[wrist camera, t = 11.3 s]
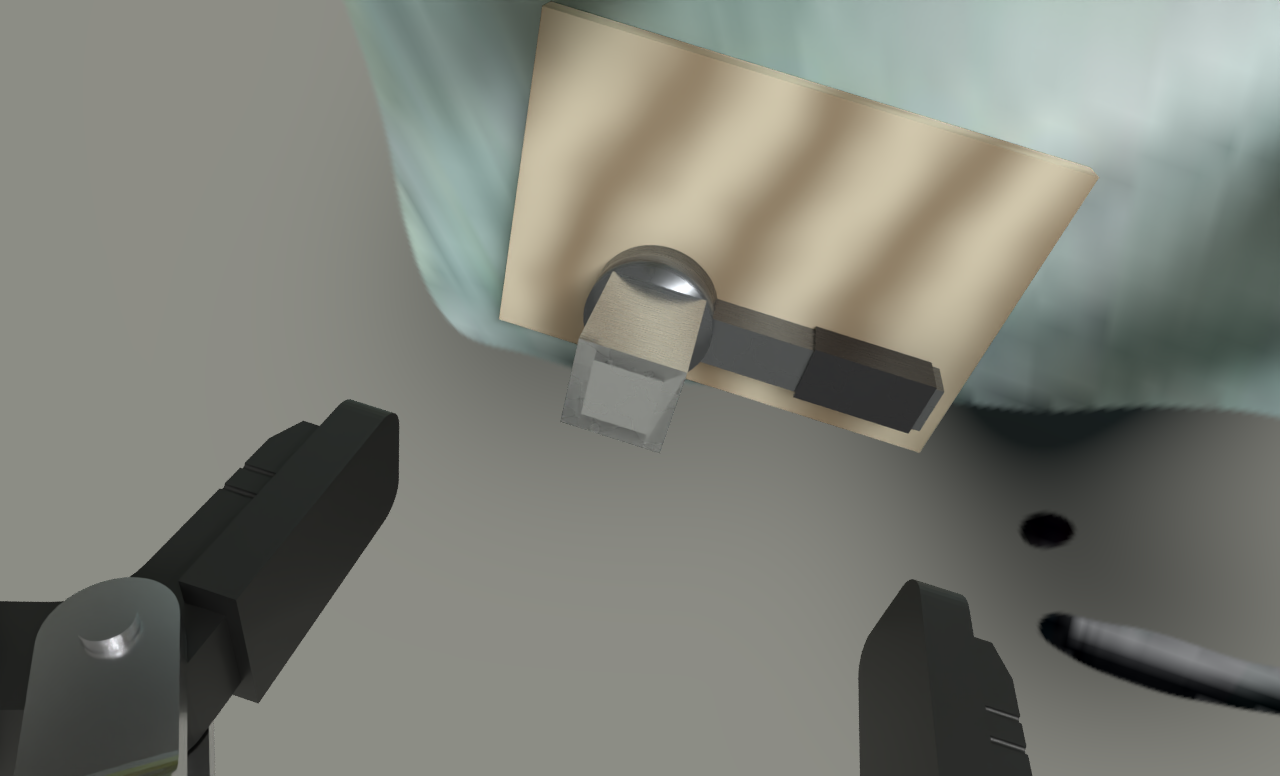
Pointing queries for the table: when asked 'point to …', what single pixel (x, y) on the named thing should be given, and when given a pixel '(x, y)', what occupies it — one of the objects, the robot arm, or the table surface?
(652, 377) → the grey pocketed block
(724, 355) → the ratchet
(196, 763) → the robot arm
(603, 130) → the board
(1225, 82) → the table surface
